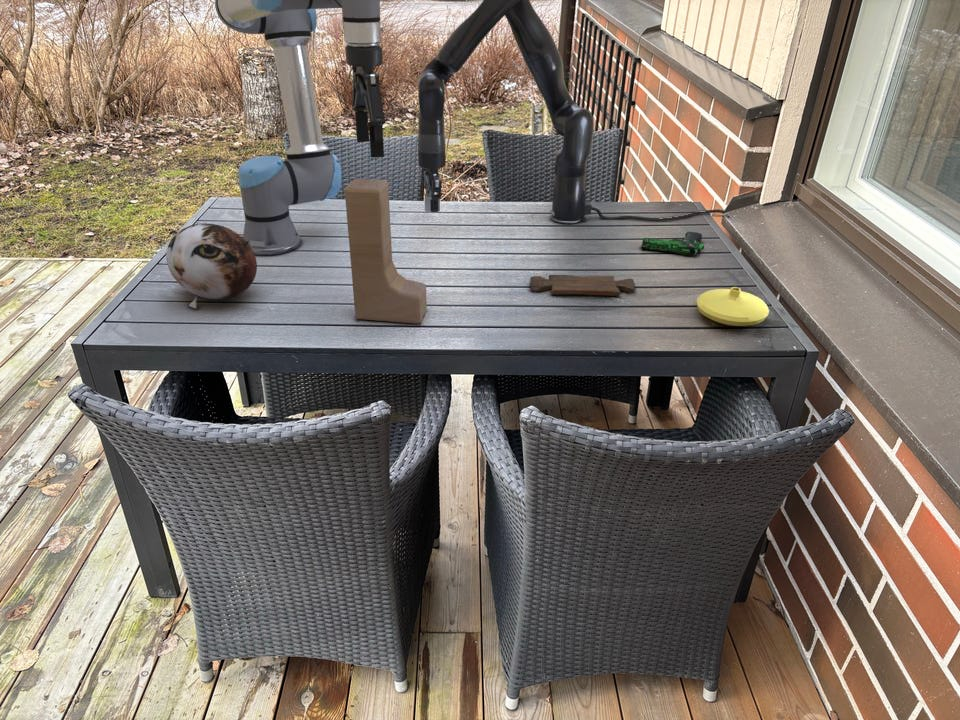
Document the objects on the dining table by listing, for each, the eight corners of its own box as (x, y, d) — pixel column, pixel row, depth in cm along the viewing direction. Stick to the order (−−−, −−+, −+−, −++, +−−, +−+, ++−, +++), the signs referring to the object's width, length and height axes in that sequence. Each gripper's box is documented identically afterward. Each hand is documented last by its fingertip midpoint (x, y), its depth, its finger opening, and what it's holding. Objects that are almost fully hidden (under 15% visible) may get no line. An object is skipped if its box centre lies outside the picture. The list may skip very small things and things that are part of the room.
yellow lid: (708, 296, 172) (714, 269, 169) (775, 314, 165) (782, 286, 161) (683, 320, 161) (688, 292, 158) (753, 340, 154) (760, 311, 150)
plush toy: (130, 285, 161) (164, 203, 163) (192, 308, 177) (221, 233, 178) (195, 307, 151) (229, 220, 152) (254, 330, 166) (285, 250, 168)
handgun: (708, 232, 202) (701, 248, 190) (707, 242, 204) (700, 259, 192) (651, 225, 208) (641, 240, 196) (650, 234, 209) (639, 251, 197)
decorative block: (420, 325, 158) (416, 192, 142) (354, 319, 159) (343, 187, 144) (427, 309, 164) (423, 181, 149) (363, 305, 166) (354, 177, 150)
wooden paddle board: (638, 298, 171) (631, 281, 180) (639, 292, 170) (632, 275, 179) (530, 294, 172) (529, 277, 180) (531, 288, 171) (529, 271, 179)
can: (425, 207, 207) (424, 191, 205) (440, 208, 207) (440, 192, 205) (424, 212, 204) (424, 196, 201) (439, 213, 204) (439, 196, 201)
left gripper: (397, 51, 137) (401, 162, 148) (367, 36, 157) (373, 134, 168) (358, 53, 135) (366, 165, 146) (333, 37, 155) (341, 136, 166)
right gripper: (413, 143, 201) (414, 202, 210) (423, 156, 190) (425, 218, 198) (439, 141, 203) (439, 200, 212) (451, 154, 192) (451, 216, 200)
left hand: (370, 149), depth 157 cm, fingers open, 13 cm apart
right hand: (432, 208), depth 205 cm, fingers closed on can, 4 cm apart
